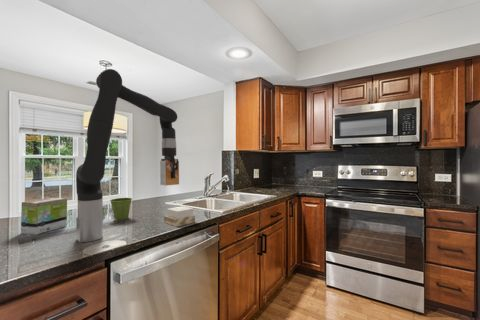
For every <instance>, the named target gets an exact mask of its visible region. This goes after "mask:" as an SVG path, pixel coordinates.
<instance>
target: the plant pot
mask: <svg viewBox="0 0 480 320" xmlns="http://www.w3.org/2000/svg"><path fill="white" fill-rule="evenodd" d="M132 200H133V198H132V197H118V198H117V197H116V198H112V199H110V200H109V202H110V205H111V207H112V212H113V217H114V219H115V221H122V220H127V219H129V215H130V209H131V203H132Z"/></svg>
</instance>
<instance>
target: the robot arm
mask: <svg viewBox="0 0 480 320" xmlns="http://www.w3.org/2000/svg"><path fill="white" fill-rule="evenodd" d="M95 80H96V81H95V83H96V86H97V88H98V89H99V91H98V95H97V99H96V101H95V104H94V105H93V108H92V110H91V113H90V117H89V120H88V123H87V124H88V126H87V130H86V144H87V146H86V154H85V158H84V161H83V163H82V164H80V165H78V167H77V169H76V174H75V181H76V182H75V183H76V189H75V190H76V195H77V216H76V222H75V224H76V226H75V227H76V228H75V230H76V236H75V237H76V239H75V240H76V241H77V242H79V243H87V242H88V243H89V242H94V241H99V240H101V239H102V238H104V237H103V234H104V231H103V229H104V228H103V227H104V225H103V223H104V222H103V219H104V218H103V215H104V214H103V213H104V211H103V204H104V203H103V202H104V201H103V196H104V195H103V191H102V187H101V186H102V185H101V182H102V180H103V179H104V176H105V169H106V158H107V157H106V156H107V152H108V147H109V145H110V140H111V137H112V133H113V132H112V131H113V126H114V121H115V120H114V119H115V113H116V107H117V101H118V98H119V99H120V100H123V101H124V102H125V101H126V102H128V103H129V104H132V105H133V106H135V107H137V108H139V109H141V110H143V111H145V112H146V113H148V114H149V115H152V116H153V117H154V116H155V117H158V118H159V124H160V129H161V156H163V157H164V158H161V160H160V161H171V163H172V162H173V165H170V169H171V171H172V172H171V178H172V179H173V178H175V171H176V170H178V161H179V159H178V158H175V157H176V156H177V140H176V129H175V128H174V127H173V124H172V123H175V122H176V121H177V120H178V114H177V112H176V111H175V110H174V109H172V108H171V107H169V106H167V105H166V106H165V105H164V104H161V103H159V102H158V101H156V100H154V99H152V97H149V96H147V95H145V94H142V93H139V92H137V91H134V90H132V89H130V88H128V87H126V86H125V85H123V79H122V76H121V74H120V73H119V72H118V71H117V70H116V69H112V68H107V69H104V70H103V71H101V72H100V73H99V74H98V75H97V77H96V79H95ZM175 166H176V168H175ZM172 167H173V169H172Z"/></svg>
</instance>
